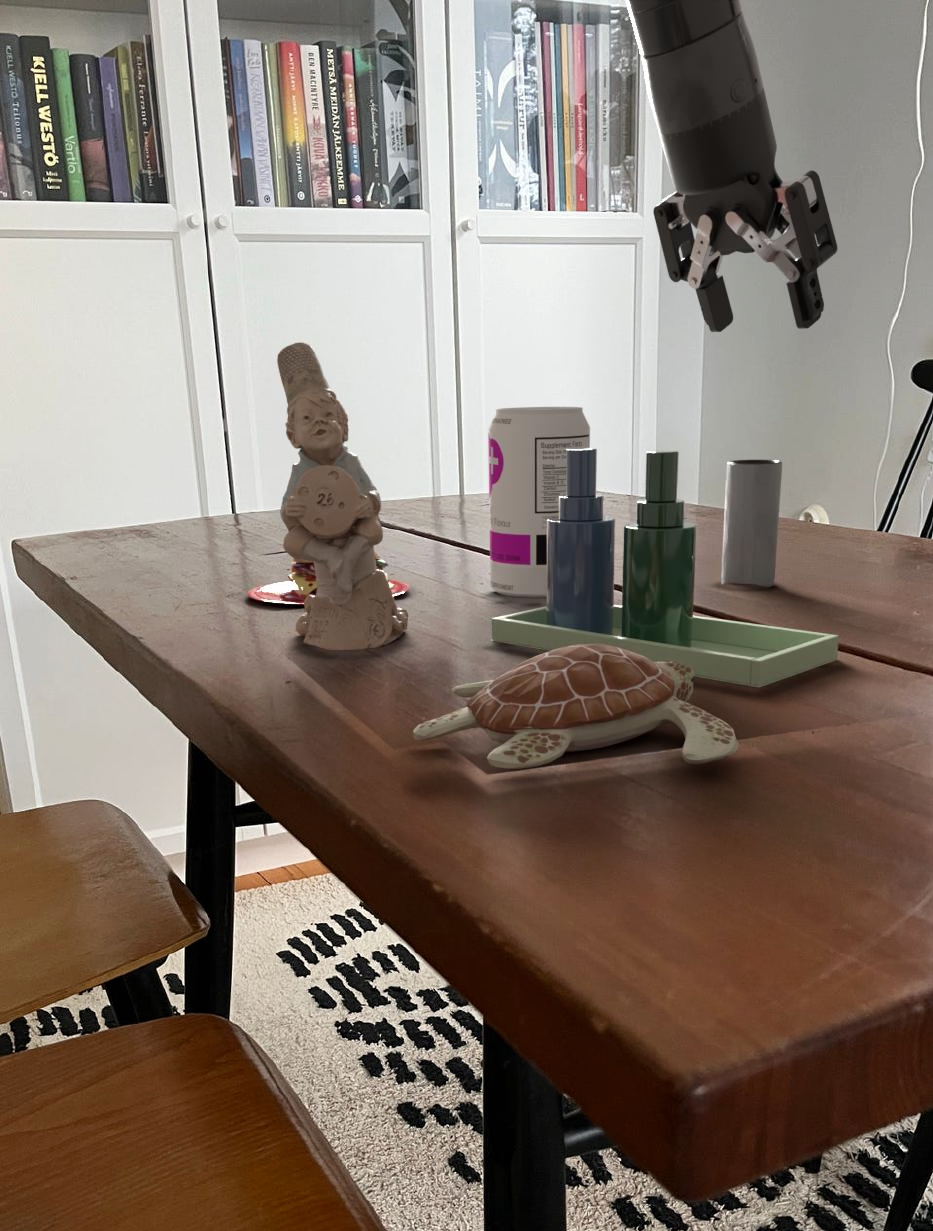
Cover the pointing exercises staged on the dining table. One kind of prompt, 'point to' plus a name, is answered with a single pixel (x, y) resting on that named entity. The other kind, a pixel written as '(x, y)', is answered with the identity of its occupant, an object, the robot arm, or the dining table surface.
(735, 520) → the grey cylinder
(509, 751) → the decorative turtle
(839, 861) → the dining table surface
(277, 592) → the red plate
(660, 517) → the green bottle
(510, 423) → the supplement can
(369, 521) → the figurine
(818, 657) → the tray
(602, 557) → the blue bottle
